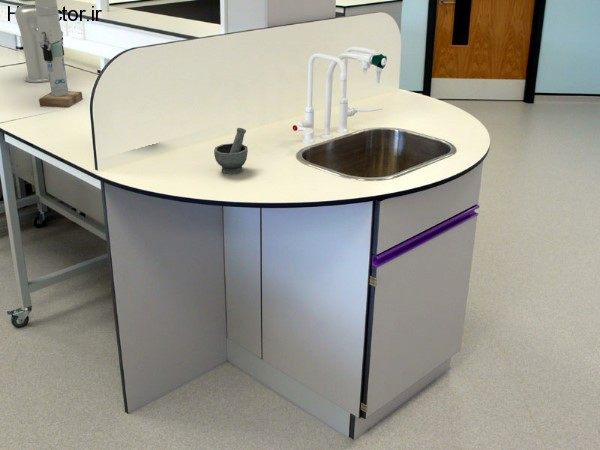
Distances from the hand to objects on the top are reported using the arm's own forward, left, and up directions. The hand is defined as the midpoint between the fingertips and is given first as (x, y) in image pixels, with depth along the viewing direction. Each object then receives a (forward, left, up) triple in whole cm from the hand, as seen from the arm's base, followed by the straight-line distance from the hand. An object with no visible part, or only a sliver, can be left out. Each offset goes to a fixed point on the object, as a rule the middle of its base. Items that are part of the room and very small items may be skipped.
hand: (54, 58), depth 271 cm
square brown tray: (0, 0, -17) cm, 17 cm away
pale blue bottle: (0, 0, -14) cm, 14 cm away
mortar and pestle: (+64, +85, -18) cm, 108 cm away
